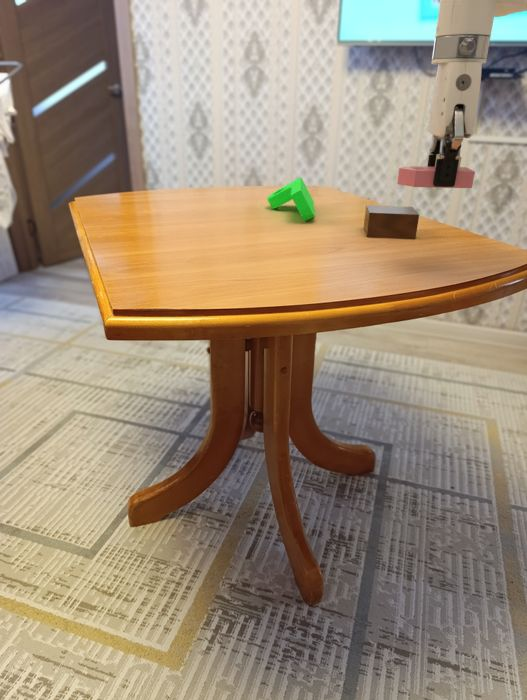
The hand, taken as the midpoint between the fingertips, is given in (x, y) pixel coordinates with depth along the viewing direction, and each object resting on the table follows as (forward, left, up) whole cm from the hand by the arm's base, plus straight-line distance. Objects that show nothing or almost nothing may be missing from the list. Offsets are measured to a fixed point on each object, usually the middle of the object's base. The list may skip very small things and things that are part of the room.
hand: (439, 182), depth 82 cm
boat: (+1, 0, 0) cm, 1 cm away
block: (+3, -23, -14) cm, 28 cm away
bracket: (+25, -38, -14) cm, 48 cm away
